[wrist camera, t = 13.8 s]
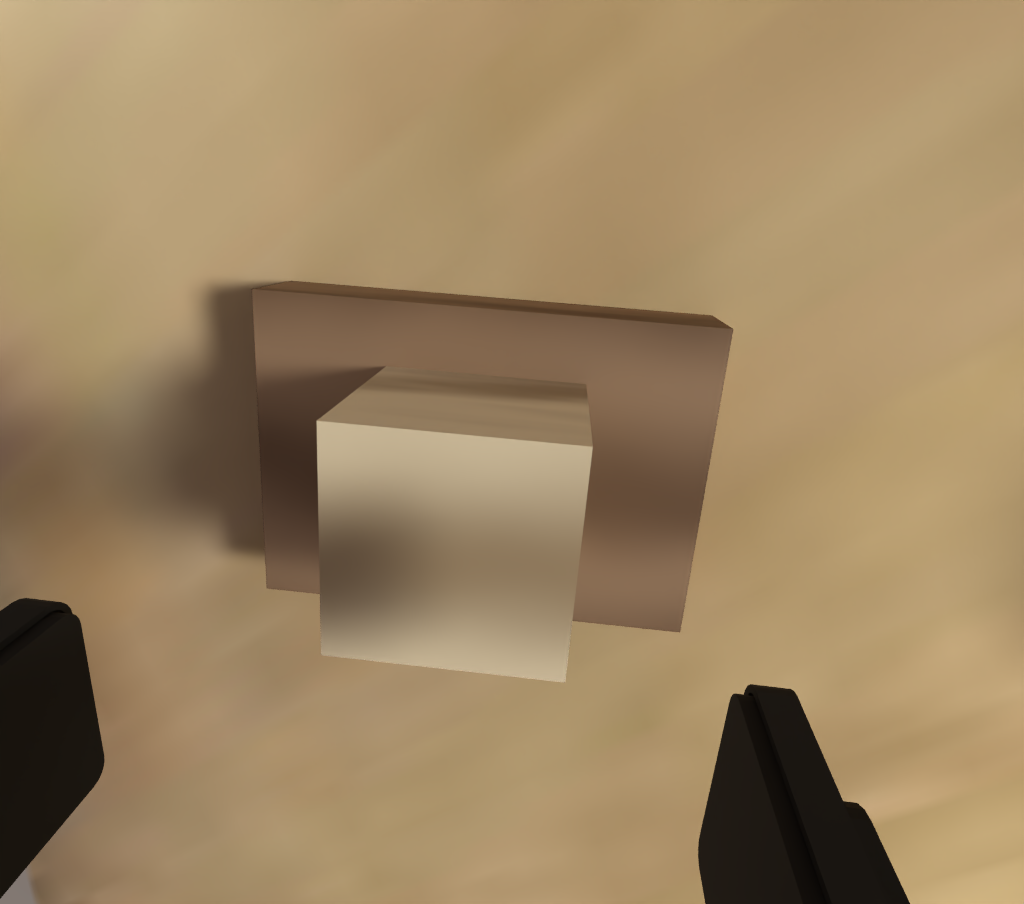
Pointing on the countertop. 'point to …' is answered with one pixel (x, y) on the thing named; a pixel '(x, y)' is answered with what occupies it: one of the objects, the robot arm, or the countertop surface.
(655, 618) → the walnut board
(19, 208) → the countertop surface
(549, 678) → the maple cube
